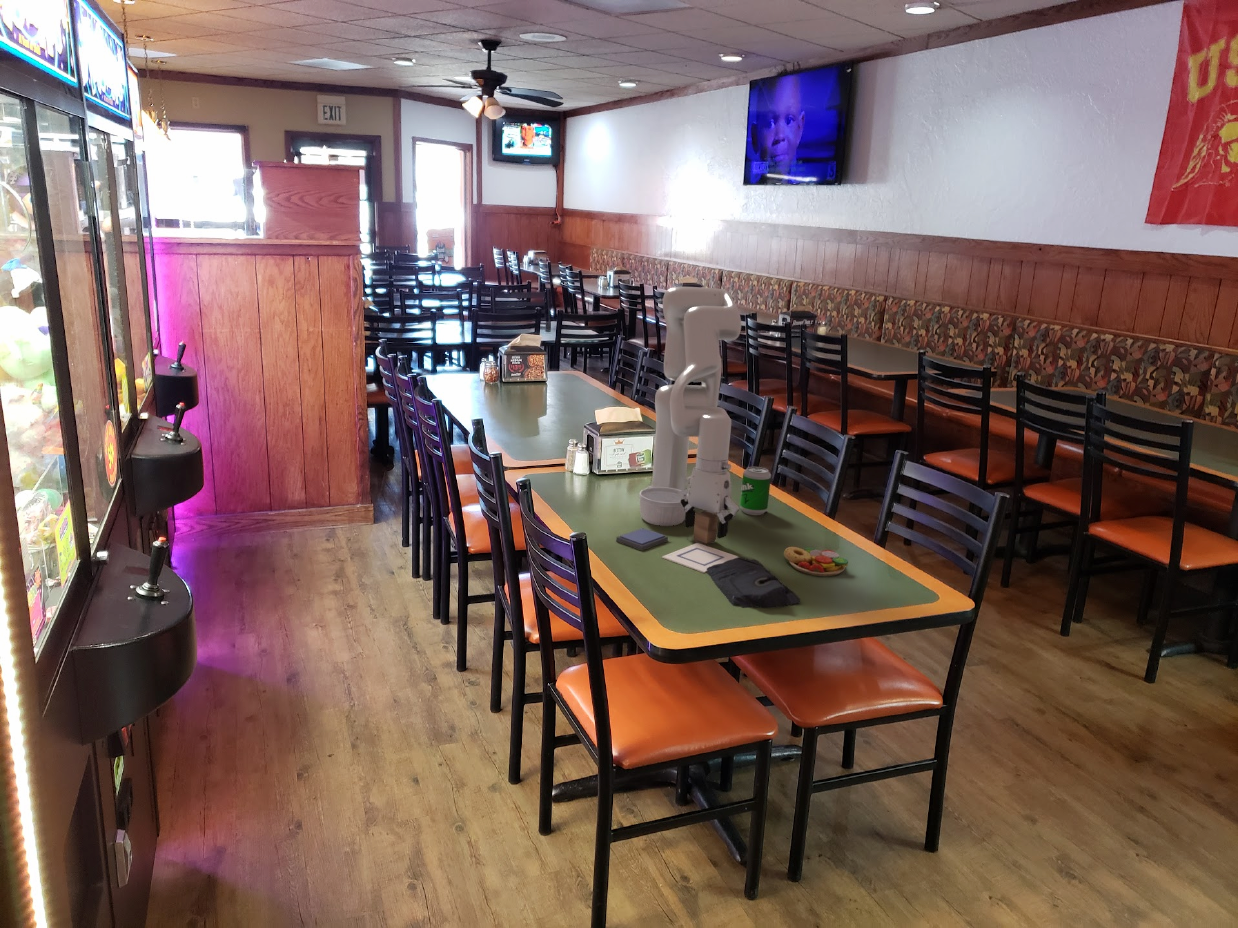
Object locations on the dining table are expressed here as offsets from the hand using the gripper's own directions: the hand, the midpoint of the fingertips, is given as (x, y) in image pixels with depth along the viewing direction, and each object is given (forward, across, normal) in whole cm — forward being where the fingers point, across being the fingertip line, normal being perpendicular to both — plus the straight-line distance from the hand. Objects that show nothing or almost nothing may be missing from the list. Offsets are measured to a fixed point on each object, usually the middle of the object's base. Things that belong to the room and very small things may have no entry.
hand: (705, 531), depth 217 cm
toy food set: (+3, -27, -7) cm, 28 cm away
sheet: (+2, -6, +10) cm, 12 cm away
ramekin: (+3, +17, -5) cm, 18 cm away
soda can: (+3, +5, -30) cm, 31 cm away
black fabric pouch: (+3, -23, +15) cm, 28 cm away
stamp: (+2, 0, 0) cm, 3 cm away
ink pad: (+2, +10, +12) cm, 16 cm away
